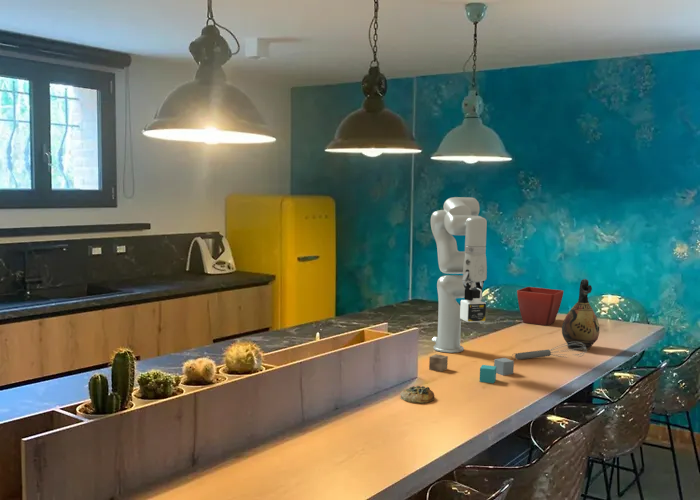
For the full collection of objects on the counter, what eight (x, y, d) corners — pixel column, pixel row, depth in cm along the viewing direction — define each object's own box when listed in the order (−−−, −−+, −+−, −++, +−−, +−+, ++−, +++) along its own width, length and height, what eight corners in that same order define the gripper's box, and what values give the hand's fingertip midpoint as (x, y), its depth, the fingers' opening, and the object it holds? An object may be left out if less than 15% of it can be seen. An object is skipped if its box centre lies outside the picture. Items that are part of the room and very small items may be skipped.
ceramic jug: (601, 353, 288) (605, 283, 285) (562, 351, 291) (566, 281, 288) (595, 344, 305) (598, 277, 302) (559, 342, 308) (562, 276, 305)
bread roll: (432, 393, 227) (432, 379, 226) (436, 408, 216) (437, 393, 215) (398, 394, 227) (398, 380, 226) (401, 409, 216) (401, 394, 215)
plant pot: (562, 322, 356) (564, 289, 355) (552, 327, 340) (553, 294, 339) (526, 317, 366) (528, 286, 365) (514, 323, 350) (516, 290, 349)
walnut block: (429, 369, 257) (429, 356, 256) (435, 367, 261) (435, 354, 261) (441, 372, 254) (441, 358, 254) (447, 369, 258) (447, 356, 258)
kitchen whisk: (507, 358, 278) (508, 342, 277) (580, 355, 286) (581, 340, 286) (515, 362, 272) (516, 346, 271) (589, 358, 281) (590, 343, 280)
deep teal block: (479, 381, 242) (480, 368, 242) (481, 378, 247) (482, 364, 246) (493, 383, 240) (494, 369, 240) (495, 380, 245) (496, 366, 244)
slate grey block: (493, 372, 255) (494, 359, 255) (504, 370, 257) (504, 357, 257) (503, 375, 251) (503, 362, 250) (513, 374, 253) (513, 360, 253)
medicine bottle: (467, 322, 250) (469, 290, 249) (459, 318, 257) (460, 287, 256) (485, 321, 252) (486, 289, 251) (476, 318, 259) (478, 286, 257)
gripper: (472, 253, 243) (470, 303, 244) (495, 250, 256) (493, 297, 258) (454, 251, 247) (452, 300, 249) (477, 248, 261) (476, 295, 262)
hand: (473, 298), depth 253 cm, fingers closed on medicine bottle, 6 cm apart
